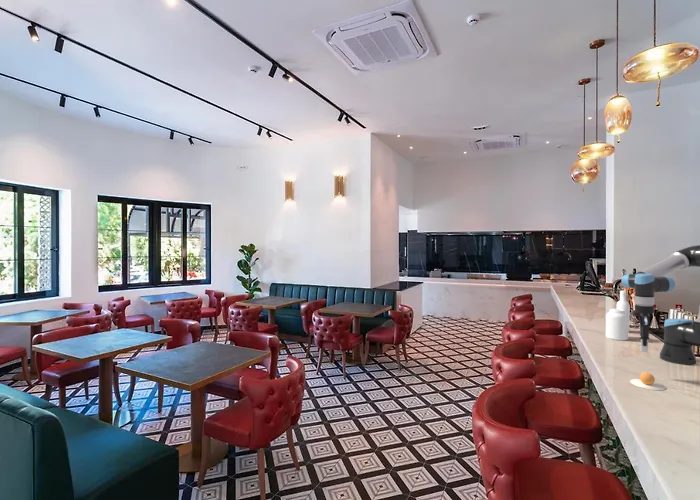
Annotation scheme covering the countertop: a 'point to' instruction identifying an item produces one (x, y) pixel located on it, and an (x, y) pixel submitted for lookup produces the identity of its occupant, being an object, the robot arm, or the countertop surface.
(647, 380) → the ball
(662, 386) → the white plate
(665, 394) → the countertop surface
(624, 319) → the white container
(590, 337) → the countertop surface
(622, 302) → the bottle
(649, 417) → the countertop surface
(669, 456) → the countertop surface
